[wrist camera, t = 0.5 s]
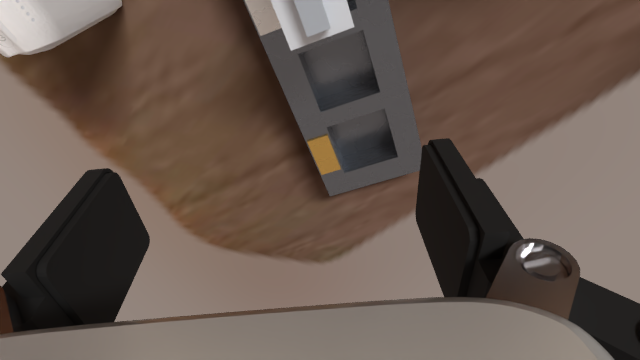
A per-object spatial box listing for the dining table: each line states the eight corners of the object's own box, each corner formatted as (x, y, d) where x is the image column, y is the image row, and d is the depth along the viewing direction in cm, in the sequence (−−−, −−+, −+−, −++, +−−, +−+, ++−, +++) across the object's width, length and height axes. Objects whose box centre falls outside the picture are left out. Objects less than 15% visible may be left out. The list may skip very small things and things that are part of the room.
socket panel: (352, -129, 25) (358, -134, 22) (418, 150, 39) (426, 169, 36) (223, -70, 27) (212, -67, 24) (328, 177, 41) (330, 197, 38)
